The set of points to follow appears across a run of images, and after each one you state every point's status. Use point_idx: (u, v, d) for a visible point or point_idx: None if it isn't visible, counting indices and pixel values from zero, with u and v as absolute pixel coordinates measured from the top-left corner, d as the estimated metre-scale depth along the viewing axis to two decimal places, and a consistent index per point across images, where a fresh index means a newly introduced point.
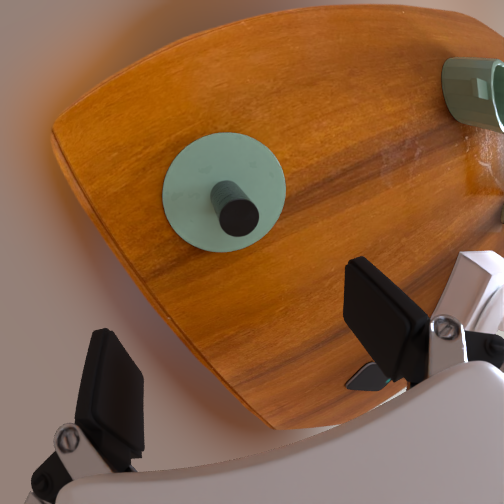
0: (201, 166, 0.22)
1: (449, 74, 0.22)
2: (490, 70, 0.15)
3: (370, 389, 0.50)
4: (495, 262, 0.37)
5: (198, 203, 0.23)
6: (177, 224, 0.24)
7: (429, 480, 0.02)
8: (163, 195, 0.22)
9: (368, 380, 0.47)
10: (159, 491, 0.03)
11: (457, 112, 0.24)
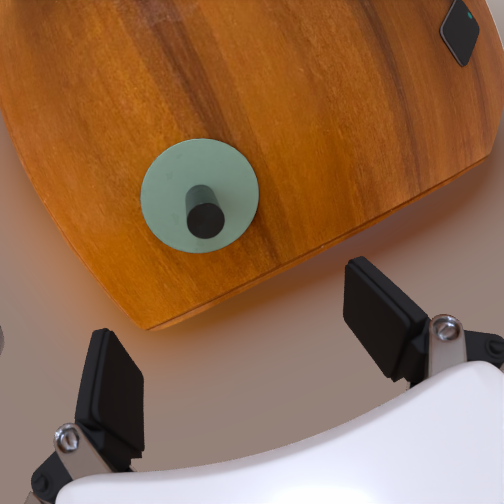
0: (172, 222, 0.25)
1: None
2: None
3: (474, 38, 0.20)
4: None
5: None
6: (226, 240, 0.27)
7: (429, 480, 0.02)
8: (198, 252, 0.27)
9: (462, 39, 0.21)
10: (159, 491, 0.03)
11: None
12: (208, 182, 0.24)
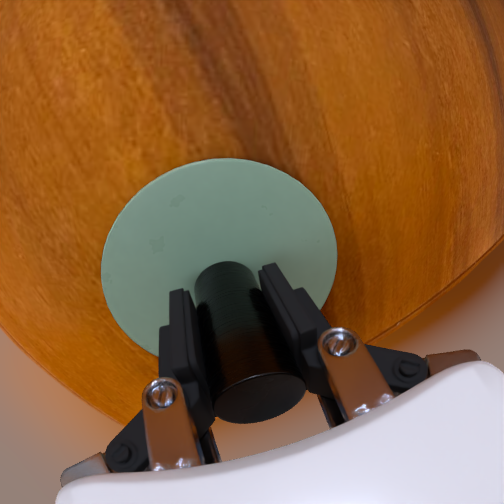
0: None
1: None
2: None
3: None
4: None
5: None
6: None
7: (429, 480, 0.02)
8: None
9: None
10: (159, 491, 0.03)
11: None
12: (243, 256, 0.12)
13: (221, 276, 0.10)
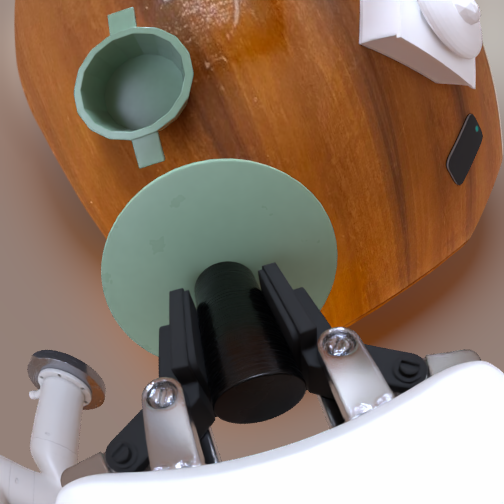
0: None
1: None
2: (110, 135, 0.19)
3: (475, 151, 0.38)
4: None
5: None
6: None
7: (429, 480, 0.02)
8: None
9: (464, 160, 0.38)
10: (159, 491, 0.03)
11: (181, 111, 0.25)
12: (243, 256, 0.12)
13: (221, 276, 0.10)
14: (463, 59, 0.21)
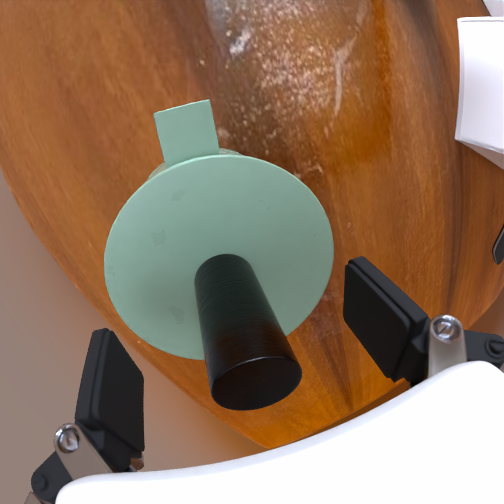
0: (172, 320, 0.13)
1: None
2: None
3: None
4: (492, 70, 0.14)
5: None
6: None
7: (429, 480, 0.02)
8: None
9: None
10: (159, 492, 0.03)
11: None
12: (242, 249, 0.12)
13: (220, 268, 0.11)
14: None
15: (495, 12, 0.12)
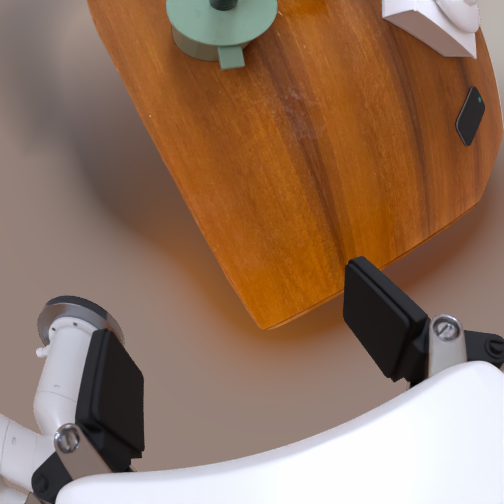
0: (194, 16, 0.18)
1: (206, 58, 0.26)
2: None
3: (479, 118, 0.39)
4: None
5: (227, 19, 0.19)
6: (245, 36, 0.20)
7: (429, 480, 0.02)
8: (216, 44, 0.20)
9: (470, 124, 0.39)
10: (159, 491, 0.03)
11: None
12: None
13: None
14: (465, 34, 0.22)
15: None
